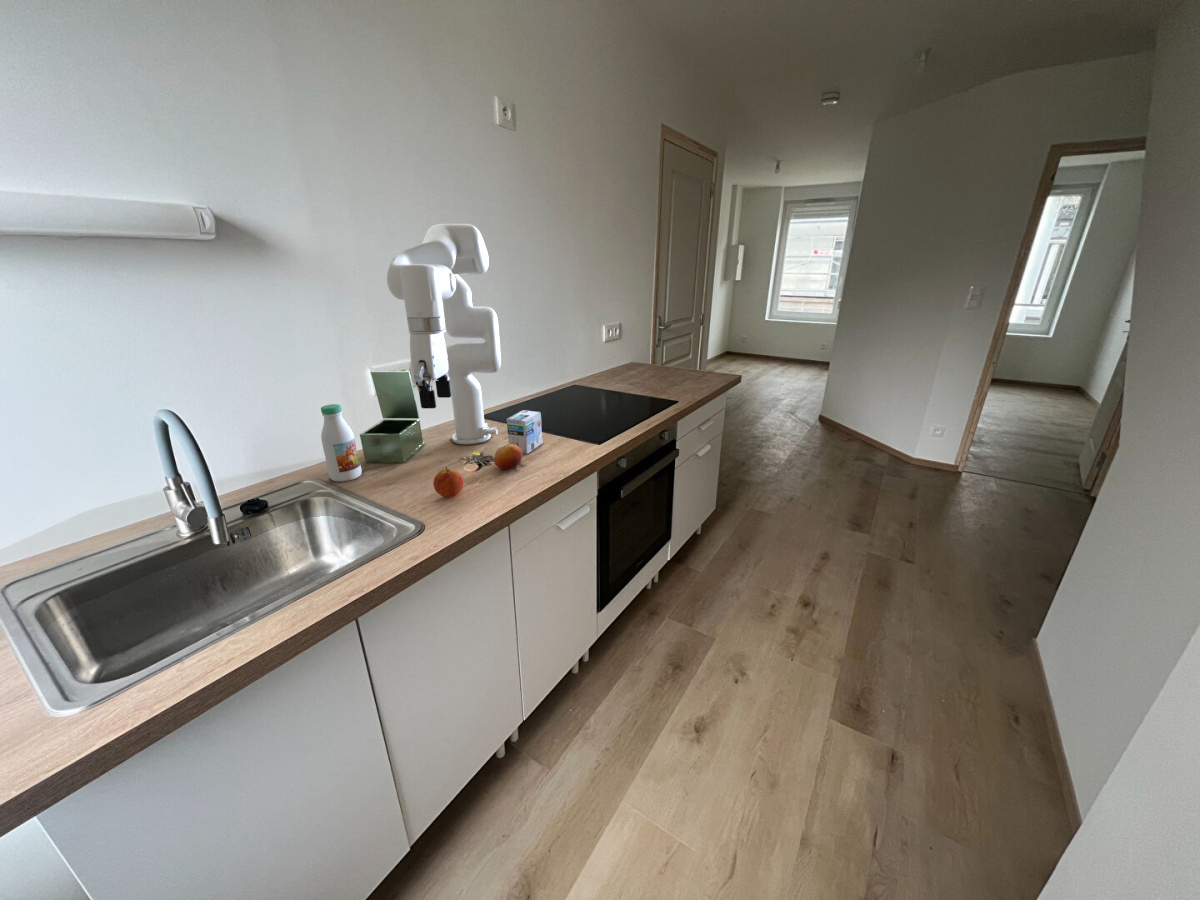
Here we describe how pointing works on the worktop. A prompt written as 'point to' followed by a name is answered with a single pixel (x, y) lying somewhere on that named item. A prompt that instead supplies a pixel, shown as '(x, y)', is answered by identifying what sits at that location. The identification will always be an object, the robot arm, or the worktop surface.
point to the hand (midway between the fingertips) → (437, 402)
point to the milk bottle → (339, 445)
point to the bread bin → (392, 441)
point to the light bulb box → (525, 430)
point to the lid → (395, 394)
